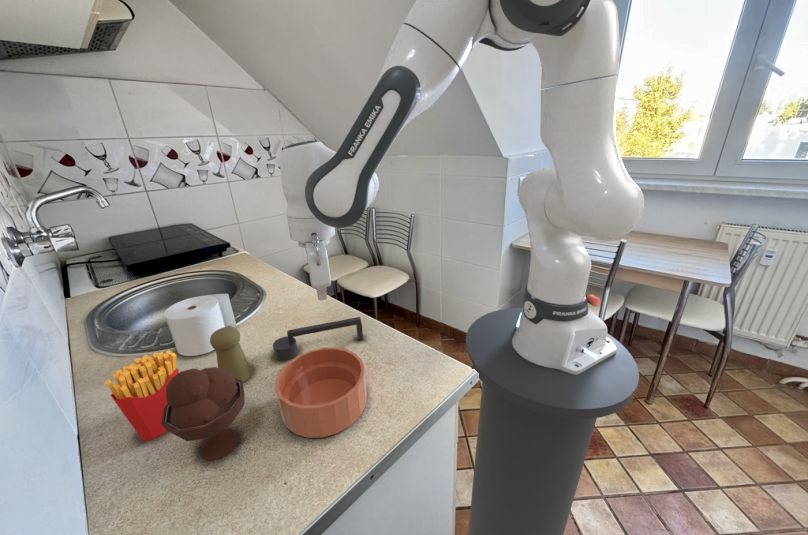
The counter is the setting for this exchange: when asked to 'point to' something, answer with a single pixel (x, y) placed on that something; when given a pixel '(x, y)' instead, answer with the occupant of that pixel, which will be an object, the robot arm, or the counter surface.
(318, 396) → the bowl
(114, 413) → the counter surface
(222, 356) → the cork
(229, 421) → the ice cream bowl
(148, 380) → the french fries
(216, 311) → the toilet tissue
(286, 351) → the ladle
